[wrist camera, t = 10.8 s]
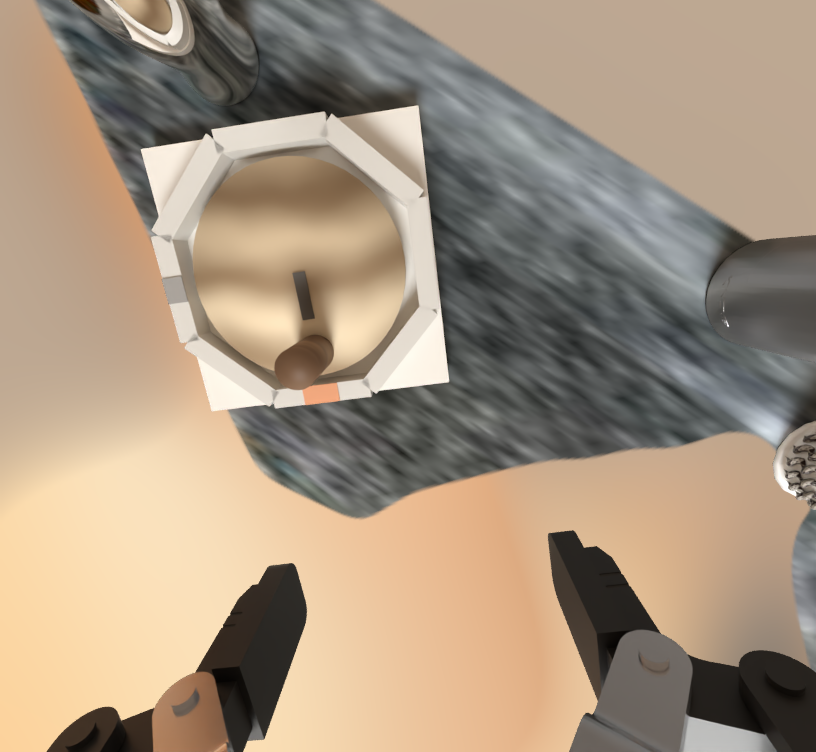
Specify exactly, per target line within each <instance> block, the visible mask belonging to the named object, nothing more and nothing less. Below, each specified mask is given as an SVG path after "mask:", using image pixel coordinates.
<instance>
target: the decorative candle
mask: <svg viewBox="0 0 816 752" xmlns="http://www.w3.org/2000/svg"><path fill="white" fill-rule="evenodd" d="M773 469H774V477H775V479H776V481H777V482H778V483H779V485H780V486H781V488H782V489H783V490H785V491H787V492H789V493H791V494H793V495H795V496H796V499H797V500H803V499H806V500H808V502H807V504H808V505H809V506H810V507H811V508H812V509H814V510H816V421H814V422H810V423H806V424H804V425H803V426H801V427H799V428H798V429H796V430H795V431H793V432H792V433H790V434H789V435H788V436H787V438H786V439H785V440H784V441H783V442H782V444H781V445H780V446H779V447H778V449H777V452H776V455H775V458H774V461H773Z"/></svg>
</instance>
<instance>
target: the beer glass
mask: <svg viewBox="0 0 816 752" xmlns="http://www.w3.org/2000/svg"><path fill="white" fill-rule="evenodd" d="M69 1H70V2H71V3H72V4H73V5H74V6H76V7H77V8H78V9H79V10H80V11H81V12H83V13H84V14H85V15H86V16H88V17H89V18H90V19H91V20H92V21H94V22H95V23H96V24H97V25H99V26H100V27H101V28H103V29H104V30H106V31H107V32H108V33H110V34H111V35H113V36H114V37H115V38H117V39H118V40H120V41H121V42H123V43H124V44H126V45H128V46H130V47H132V48H133V49H135V50H137V51H139V52H140V53H142V54H144V55H146V56H148V57H150V58H152V59H154V60H157V61H159V62H161V63H163V64H165V65H167V66H169V67H171V68H173V69H175V70H177V71H178V72H180V73H181V74H182V76H183V77H184V78H185V80H186V81H187V82H188V84H189V85H190V86H191V88H192V89H193V90H194V91H195V92H196V93H197V94H198V95H199V96H201V97H202V98H203V99H205V100H206V101H208V102H211V103H213V104H217V105H223V106H227V105H233V104H236V103H239V102H240V101H242V100H244V99H245V98H246V97H247V96H248V95H249V94H250V93H251V91H252V90H253V88H254V86H255V84H256V81H257V78H258V72H259V60H258V54H257V50H256V47H255V45H254V42H253V40H252V38H251V37H250V35H249V34H248V32H247V31H246V30H245V29H244V28H243V26H242V25H240V24H239V23H238V22H237V21H236V20H235V19H234V18H232V17H231V16H230V15H229V14H227V13H226V11H225V10H224V9H223V7H222V5H221V3H220V1H219V0H69Z"/></svg>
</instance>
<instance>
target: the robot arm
mask: <svg viewBox="0 0 816 752" xmlns="http://www.w3.org/2000/svg"><path fill="white" fill-rule="evenodd" d="M706 309H707V314H708V318H709V321H710V323H711V325H712V326H713V328H714V330H715V331H716V332H717V333H718V334H719V335H720V336H721V337H723V338H724V339H726V340H728V341H729V342H732V343H735V344H739V345H743V346H747V347H751V348H756V349H760V350H764V351H768V352H772V353H776V354H780V355H784V356H789V357H793V358H797V359H801V360H806V361H810V362H814V363H816V235H813V236H801V237H788V238H776V239H766V240H759V241H756V242H753V243H750V244H747V245H745V246H744V247H742V248H740V249H738V250H736V251H735V252H734V253H733V254H732V255H730V256H729V257H728V258H727V259H726V260H725V261H724V262H723V263H722V264H721V266H720V267H719V268H718V269H717V271H716V273H715V274H714V276H713V278H712V280H711V283H710V285H709V288H708V292H707V298H706ZM548 541H549V551H550V560H551V569H552V577H553V583H554V587H555V591H556V595H557V598H558V601H559V603H560V606H561V609H562V611H563V614H564V616H565V619H566V621H567V624H568V626H569V629H570V631H571V634H572V636H573V639H574V642H575V644H576V646H577V649H578V651H579V654H580V657H581V659H582V662H583V664H584V667H585V669H586V672H587V675H588V677H589V680H590V682H591V685H592V687H593V690H594V692H595V695H596V697H597V700H598V703H597V706H596V709H595V711H594V713H593V714H592V715H591V714H590V713H586V714H585V715H584V716H583V718H582V719H581V722H580V724H579V727H578V729H577V732H576V735H575V737H574V740H573V743H572V746H571V748H570V751H569V752H816V673H815V672H814V671H813V670H812V669H810V668H809V667H807V666H806V665H804V664H803V663H801V662H799V661H797V660H795V659H793V658H791V657H788V656H786V655H783V654H780V653H776V652H771V651H763V650H759V651H752V652H749V653H747V654H745V655H744V656H743V657H742V658H741V660H740V662H739V667H735V666H730V665H725V664H720V663H714V662H708V661H705V660H701V659H698V658H695V657H692V656H690V655H688V654H687V653H686V652H685V651H684V650H683V648H682V647H681V646H679V645H678V644H677V643H676V642H675V641H673V640H672V639H670V638H668V637H667V636H665V635H662V634H661V633H660V632H659V630H658V629H657V627H656V625H655V624H654V622H653V621H652V619H651V618H650V616H649V615H648V613H647V612H646V610H645V608H644V607H643V605H642V604H641V602H640V601H639V599H638V597H637V596H636V594H635V593H634V591H633V590H632V588H631V587H630V586H629V584H628V582H627V581H626V579H625V577H624V576H623V575H622V574H621V571H620V570H619V568H618V566H617V565H616V563H615V562H614V560H613V559H612V557H611V556H609V555H608V554H606V553H605V552H604V551H602V550H601V549H600V548H598V547H597V546H595V547H586V548H584V547H583V545H582V543H581V542H580V540H579V538H578V536H577V534H576V533H575V532H574V531H573V530H572V531H564V532H556V533H549V534H548ZM306 616H307V607H306V601H305V598H304V594H303V591H302V587H301V583H300V580H299V576H298V572H297V569H296V567H295V565H294V564H292V563H289V564H281V565H273V566H269V567H268V568H267V570H266V571H265V573H264V575H263V576H262V578H261V580H260V582H259V584H257V585H252V586H251V587H250V588H249V589H248V590H247V591H246V592H245V593H244V594H243V595H242V596H241V597H240V598H239V599H238V601H237V602H236V604H235V606H234V608H233V609H232V611H231V613H230V616H228V618H227V619H226V621H225V623H224V624H223V628H221V630H220V631H219V633H218V635H217V636H216V638H215V640H214V642H213V643H212V645H211V647H210V648H209V650H208V652H207V653H206V655H205V657H204V658H203V660H202V662H201V664H200V665H199V667H198V669H197V670H196V672H195V673H193V674H190V675H188V676H186V677H184V678H182V679H181V680H179V681H178V682H176V683H175V684H174V685H172V686H171V687H170V688H169V689H168V690H167V691H166V692H165V693H164V694H163V695H162V697H161V698H160V699H159V701H158V703H157V704H156V706H155V708H153V709H150V710H148V711H145V712H143V713H140V714H138V715H135V716H132V717H130V718H127V719H125V720H122V721H121V719H120V717H119V715H118V712H117V711H116V710H115V709H114V708H112V707H102V708H98V709H95V710H93V711H91V712H89V713H87V714H85V715H84V716H82V717H80V718H79V719H78V720H76V721H75V722H73V723H72V724H71V725H70V726H69V727H67V728H66V729H65V730H64V731H63V732H62V733H61V734H60V735H59V736H58V738H57V739H56V740H55V741H54V743H53V744H52V745H51V747H50V748H49V749H48V750H47V752H243V750H244V748H245V746H246V743H247V741H251V740H263V739H265V736H266V733H267V730H268V727H269V725H270V721H271V719H272V716H273V713H274V710H275V708H276V705H277V702H278V699H279V697H280V694H281V691H282V688H283V685H284V682H285V680H286V677H287V674H288V671H289V669H290V666H291V663H292V660H293V657H294V654H295V652H296V649H297V646H298V643H299V640H300V637H301V635H302V632H303V629H304V626H305V623H306Z"/></svg>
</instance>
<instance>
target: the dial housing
mask: <svg viewBox="0 0 816 752" xmlns="http://www.w3.org/2000/svg"><path fill="white" fill-rule="evenodd" d="M211 130H212V134H213V138H212V137H211V136H209V135H208V134H205V136H204V138H203V139H202V140H196V141H190V142H183V143H177V144H171V145H164V146H158V147H152V148H145V149H141V152H142V155H143V159H144V163H145V166H146V170H147V174H148V178H149V181H150V185H151V189H152V192H153V196H154V200H155V203H156V207H157V211H158V214H159V218H158V220H157V221H156V223H155V225H154V227H153V229H152V231H153V232H154V233H156V234H157V235H159V236H155V237H151V239H152V243H153V247H154V250H155V254H156V257H157V261H158V264H159V268H160V272H161V275H162V282H163V286H164V289H165V293H166V296H167V300H168V304H170V307H171V311H172V315H173V318H174V322H175V325H176V329H177V333H178V336H179V339H180V343H184V342H188V343H187V345H186V346H185V349H186V350H188V351H189V352H190V353H192V354H193V355H195V356H196V357H197V358H198V362H199V365H200V369H201V373H202V377H203V381H204V384H205V388H206V392H207V395H208V399H209V403H210V406H211V410H212V411H216V410H225V409H233V408H242V407H250V406H258V405H267V406H269V407H270V406H271V405H272V404H274V406H275V408H282V407H290V406H298V405H309V404H318V403H326V402H334V401H340V400H347V399H355V398H363V397H371V396H372V393H373V392H375V393H376V394H377V392H378V391H380V390H388V389H396V388H404V387H412V386H421V385H429V384H437V383H445V382H449V377H448V368H447V359H446V350H445V341H444V332H443V323H442V314H441V305H440V296H439V287H438V278H437V269H436V260H435V251H434V242H433V233H432V224H431V215H430V206H429V197H428V188H427V179H426V170H425V161H424V152H423V143H422V134H421V125H420V116H419V107H418V105H417V106H411V107H405V108H398V109H392V110H386V111H380V112H373V113H367V114H361V115H354V116H348V117H342V118H336V117H335V116H334V115H333V114H331V115H330V117H329V118H328V116H327V115H326V113H325V112H318V113H312V114H306V115H299V116H293V117H287V118H281V119H274V120H268V121H262V122H255V123H249V124H243V125H237V126H230V127H224V128H218V129H211ZM282 156H304V157H309V158H315V159H319V160H322V161H325V162H328V163H331V164H334V165H336V166H338V167H340V168H342V169H344V170H346V171H347V172H349V173H350V174H352V175H353V176H355V177H356V178H358V179H359V180H360V181H361V182H362V183H364V184H365V185H366V186H367V187H368V188H369V189H370V190H371V191H372V192H373V193H374V194H375V195H376V196H377V198H378V199H379V200H380V201H381V203H382V204H383V206H384V207H385V208H386V210H387V211H388V213H389V215H390V217H391V219H392V221H393V223H394V225H395V227H396V229H397V231H398V234H399V237H400V240H401V243H402V247H403V252H404V256H405V267H406V279H405V289H404V295H403V300H402V303H401V306H400V309H399V312H398V314H397V317H396V319H395V321H394V323H393V325H392V327H391V328H390V330H389V332H388V333H387V335H386V336H385V337H384V339H383V340H382V341H381V342H380V343H379V345H378V346H377V347H376V348H375V349H374V350H373V351H371V352H370V353H369V354H368V355H367V356H365V357H364V358H363V359H361V360H360V361H358V362H357V363H355V364H353V365H351V366H349V367H347V368H345V369H342V370H339V371H336V372H334V373H329V374H324V375H320V376H319V377H318V378H317V379H316V380H315V381H314V383H313V384H312V385H311V386H309V387H308V388H306V389H303V390H292V389H289V388H287V387H285V386H284V385H282V384H281V383H280V382H279V380H278V379H277V377H276V375H275V371H273V370H269V369H267V368H265V367H262V366H260V365H258V364H256V363H254V362H253V361H251V360H249V359H248V358H246V357H245V356H243V355H242V354H241V353H239V352H238V351H237V350H235V349H234V348H233V347H232V346H231V345H230V344H229V343H228V342H227V341H226V340H225V339H224V338H223V337H222V336H221V334H220V333H219V332H218V331H217V329H216V328H215V327H214V325H213V324H212V322H211V320H210V319H209V317H208V315H207V313H206V311H205V309H204V307H203V305H202V303H201V300H200V297H199V294H198V291H197V288H196V283H195V279H194V271H193V245H194V239H195V233H196V230H197V227H198V223H199V220H200V218H201V215H202V213H203V211H204V209H205V207H206V205H207V204H208V202H209V201H210V199H211V197H212V196H213V194H214V193H215V192H216V191H217V190H218V189H219V188H220V186H221V185H222V184H223V183H224V182H225V181H227V180H228V179H229V178H230V177H231V176H233V175H234V174H235V173H237V172H238V171H240V170H242V169H243V168H245V167H247V166H249V165H251V164H254V163H256V162H258V161H261V160H265V159H269V158H273V157H282Z"/></svg>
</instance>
